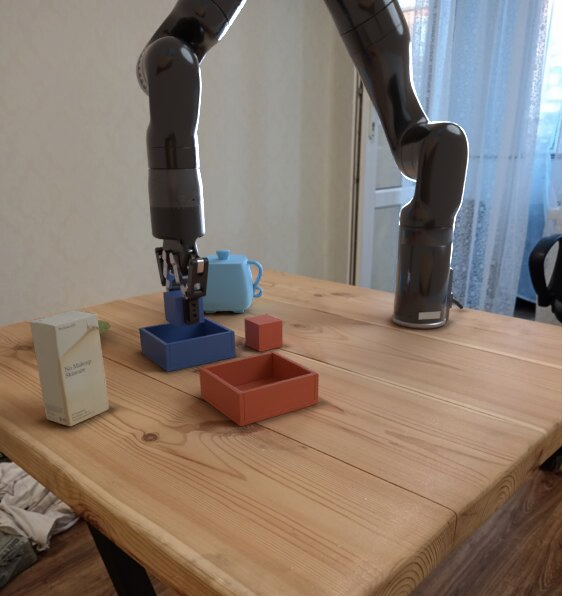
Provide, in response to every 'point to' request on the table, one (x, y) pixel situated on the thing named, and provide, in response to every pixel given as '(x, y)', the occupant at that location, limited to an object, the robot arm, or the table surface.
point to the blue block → (178, 308)
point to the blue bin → (187, 344)
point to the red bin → (258, 387)
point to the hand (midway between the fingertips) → (184, 319)
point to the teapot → (230, 283)
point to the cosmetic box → (70, 366)
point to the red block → (263, 332)
